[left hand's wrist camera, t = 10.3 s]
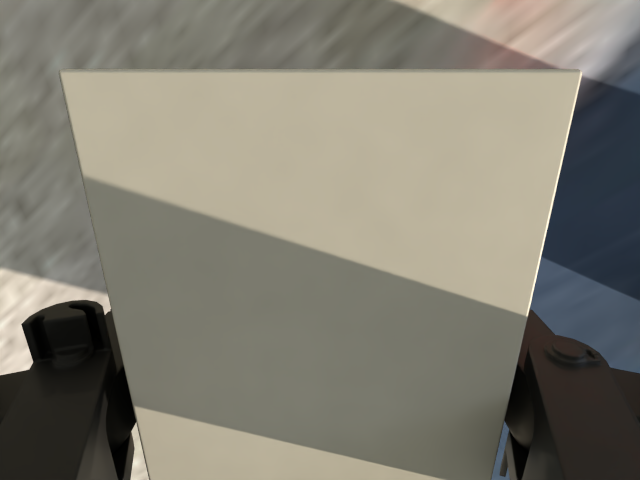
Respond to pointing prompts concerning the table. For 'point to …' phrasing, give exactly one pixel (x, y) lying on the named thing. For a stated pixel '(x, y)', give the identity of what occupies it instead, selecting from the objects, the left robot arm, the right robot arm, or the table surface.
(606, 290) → the table surface
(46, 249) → the table surface
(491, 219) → the beam
